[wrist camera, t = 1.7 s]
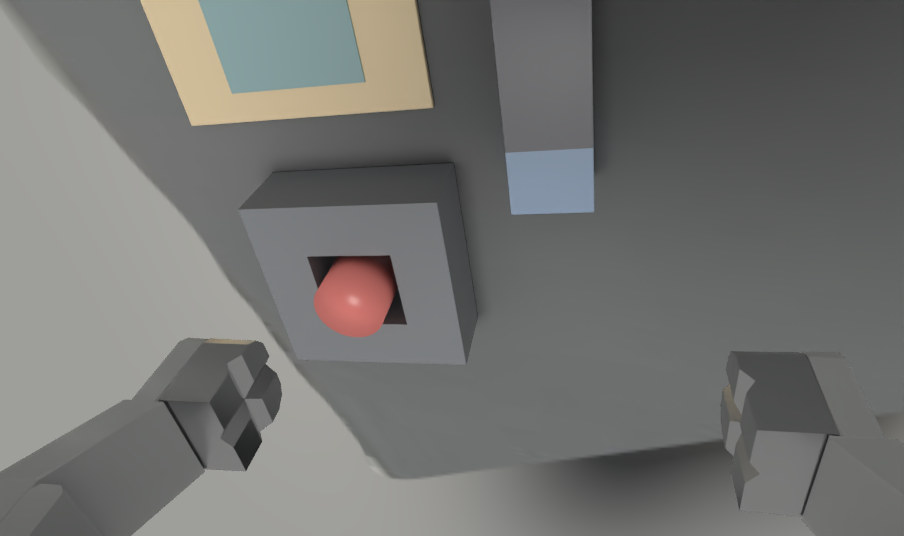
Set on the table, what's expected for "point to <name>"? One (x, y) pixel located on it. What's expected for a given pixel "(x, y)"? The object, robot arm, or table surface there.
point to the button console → (368, 234)
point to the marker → (546, 102)
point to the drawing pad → (292, 57)
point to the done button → (356, 294)
